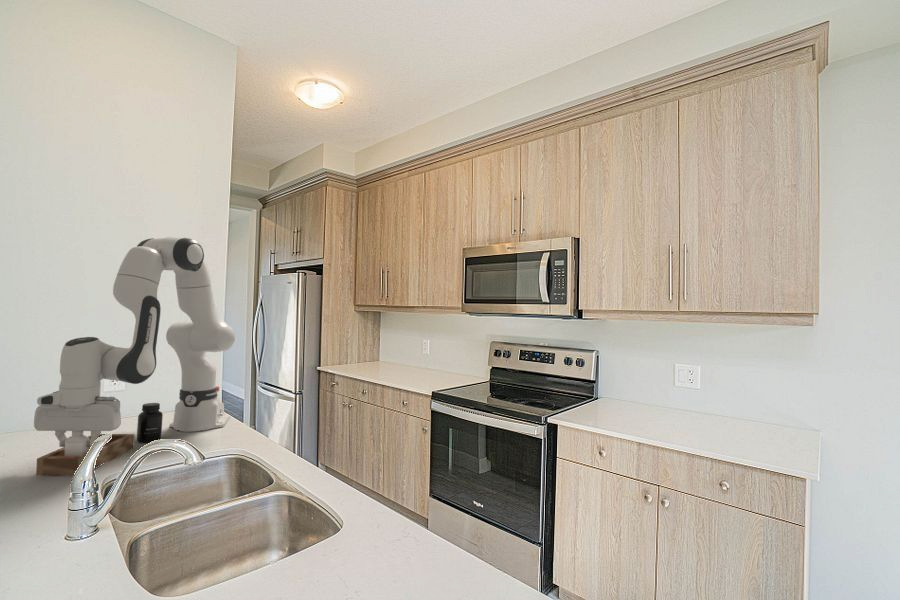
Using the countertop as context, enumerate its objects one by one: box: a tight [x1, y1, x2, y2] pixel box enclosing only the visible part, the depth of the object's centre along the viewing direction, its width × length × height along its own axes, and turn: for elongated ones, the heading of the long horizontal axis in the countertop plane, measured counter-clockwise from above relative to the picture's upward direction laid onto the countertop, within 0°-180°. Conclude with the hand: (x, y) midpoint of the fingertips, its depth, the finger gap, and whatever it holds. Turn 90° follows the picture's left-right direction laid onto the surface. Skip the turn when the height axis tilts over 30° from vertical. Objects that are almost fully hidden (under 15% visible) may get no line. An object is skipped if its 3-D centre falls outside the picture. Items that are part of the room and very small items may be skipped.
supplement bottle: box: [136, 402, 164, 444], centre depth 145 cm, size 7×7×12 cm
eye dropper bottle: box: [64, 431, 90, 457], centre depth 121 cm, size 4×6×12 cm
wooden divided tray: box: [35, 433, 135, 476], centre depth 125 cm, size 22×12×5 cm, turn 7°
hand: (77, 446), depth 121 cm, fingers closed on eye dropper bottle, 5 cm apart
